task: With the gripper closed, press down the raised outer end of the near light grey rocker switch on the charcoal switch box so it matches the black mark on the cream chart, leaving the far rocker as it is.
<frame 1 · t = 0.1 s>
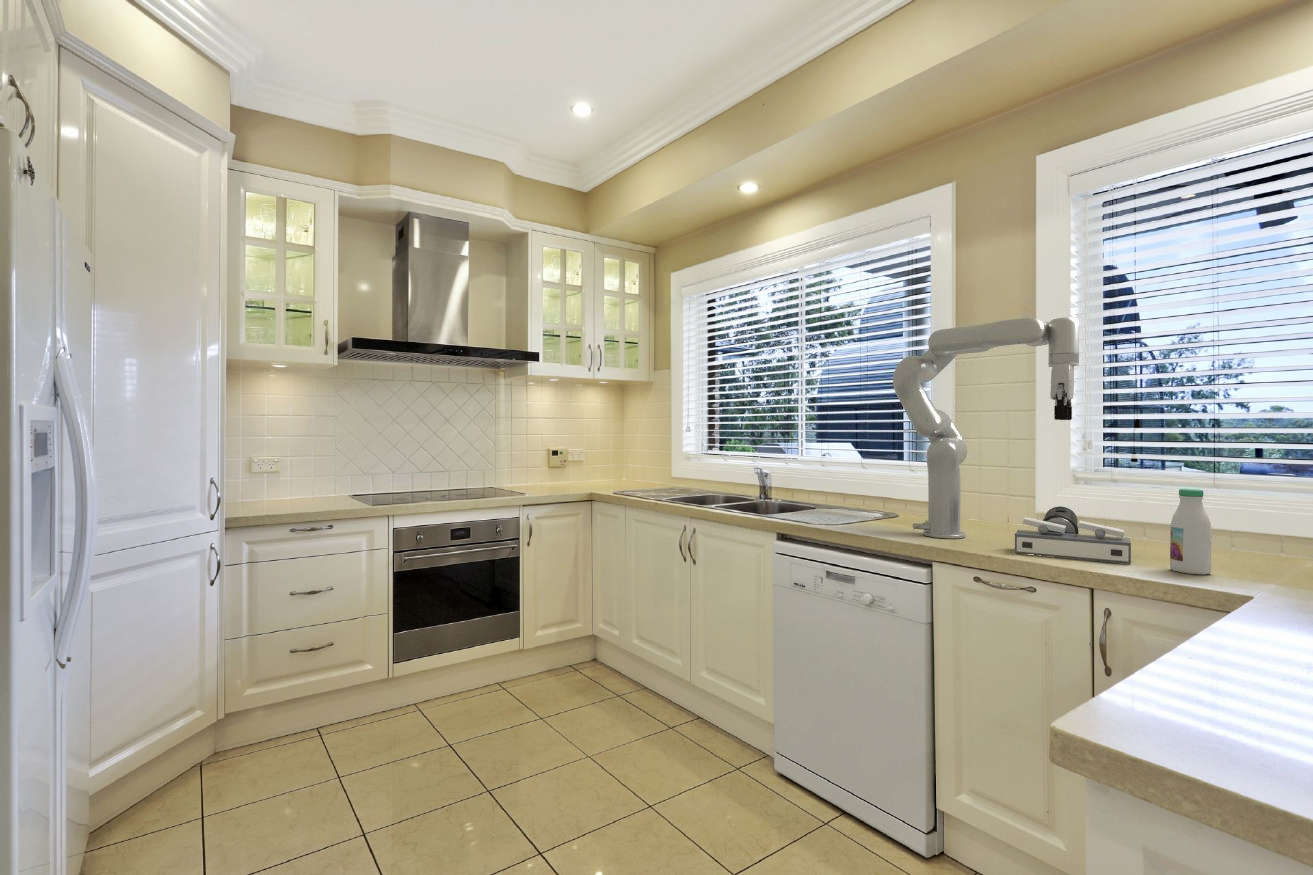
hand: (1063, 419, 189), 37 cm above the counter, tool pointing down, fingers open, 9 cm apart
milk bottle: (1190, 572, 158), on the counter
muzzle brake: (1059, 545, 195), on the counter
switch b: (1100, 531, 174), point 7 cm above the counter, hinge at 10.0°
switch a: (1043, 527, 181), point 7 cm above the counter, hinge at 10.0°
switch box: (1070, 556, 177), on the counter
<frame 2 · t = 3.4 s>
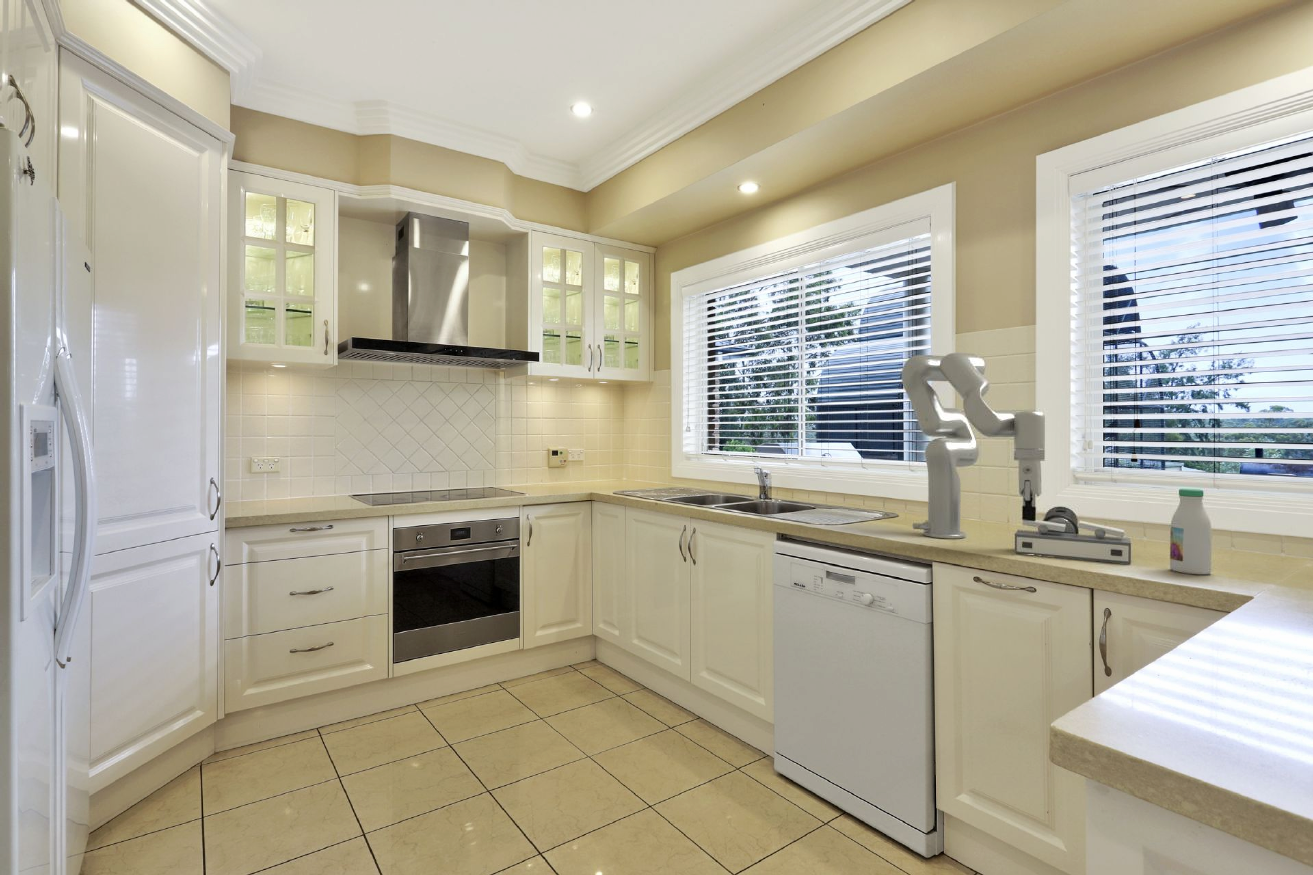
hand: (1028, 520, 183), 9 cm above the counter, tool pointing down, fingers closed
switch a: (1043, 527, 181), point 7 cm above the counter, hinge at 5.8°, touching gripper
everything else where it was.
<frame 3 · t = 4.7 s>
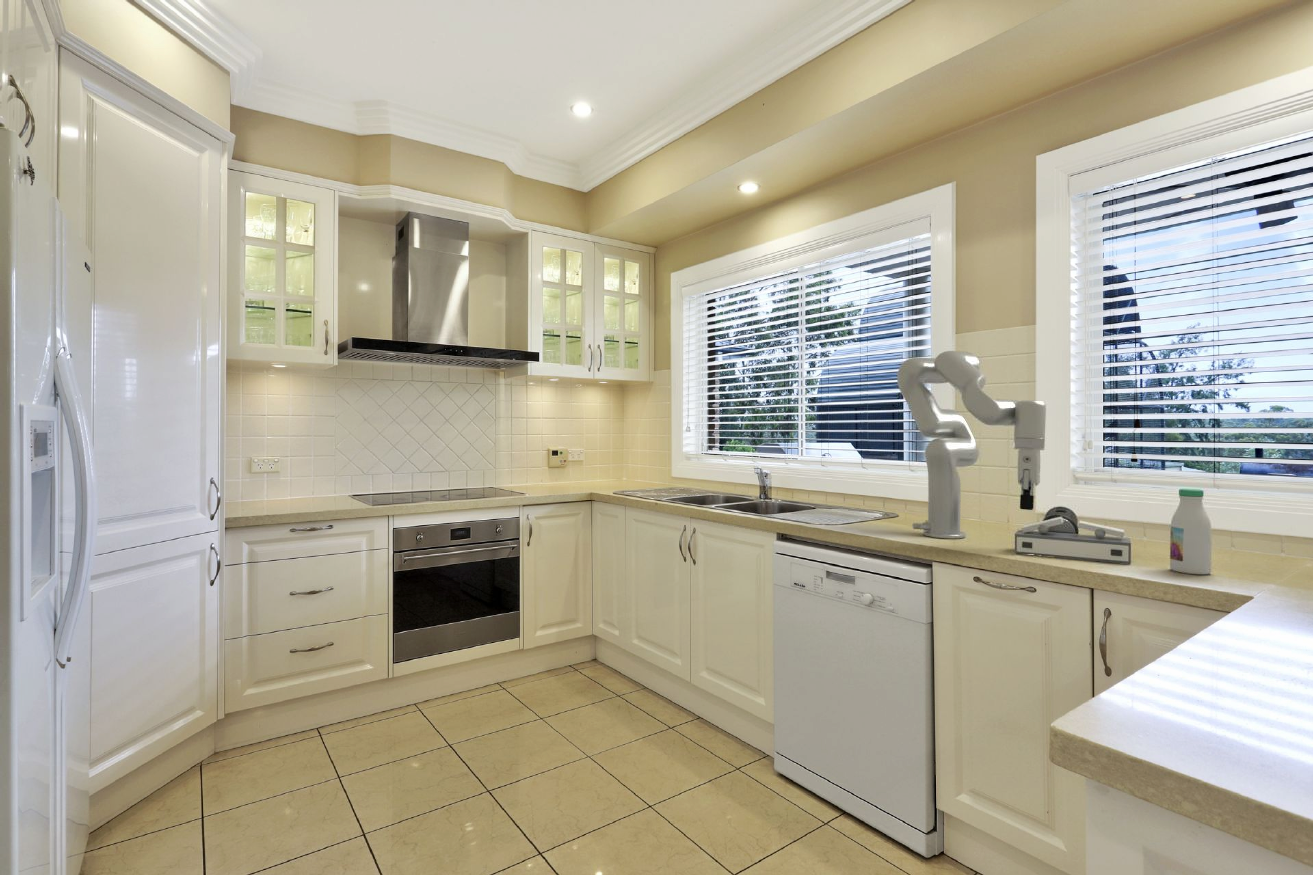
hand: (1026, 509, 184), 12 cm above the counter, tool pointing down, fingers closed
switch a: (1043, 527, 181), point 7 cm above the counter, hinge at -19.9°, touching switch box
everything else where it was.
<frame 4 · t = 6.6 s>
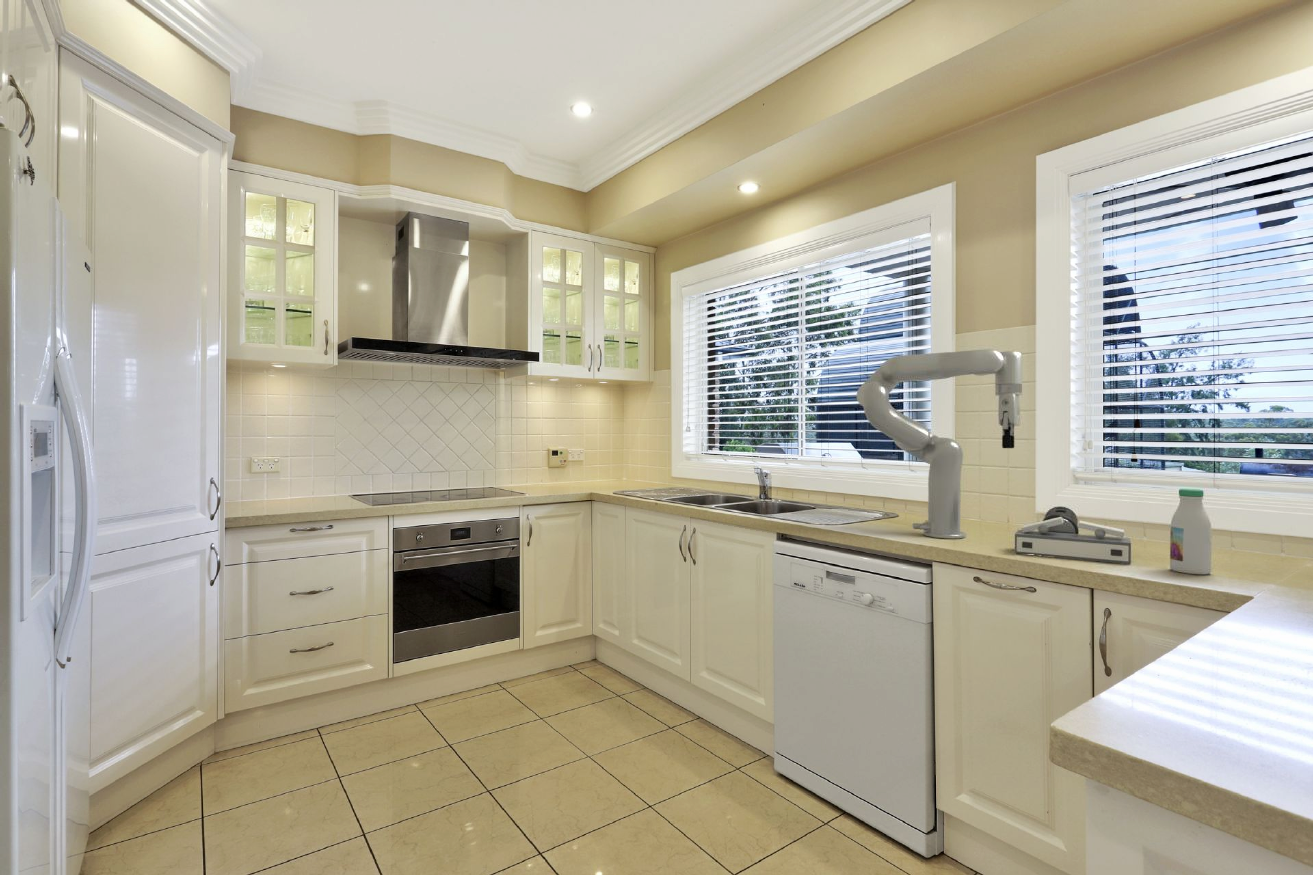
hand: (1008, 448, 208), 28 cm above the counter, tool pointing down, fingers closed
switch a: (1043, 527, 181), point 7 cm above the counter, hinge at -19.5°
everything else where it was.
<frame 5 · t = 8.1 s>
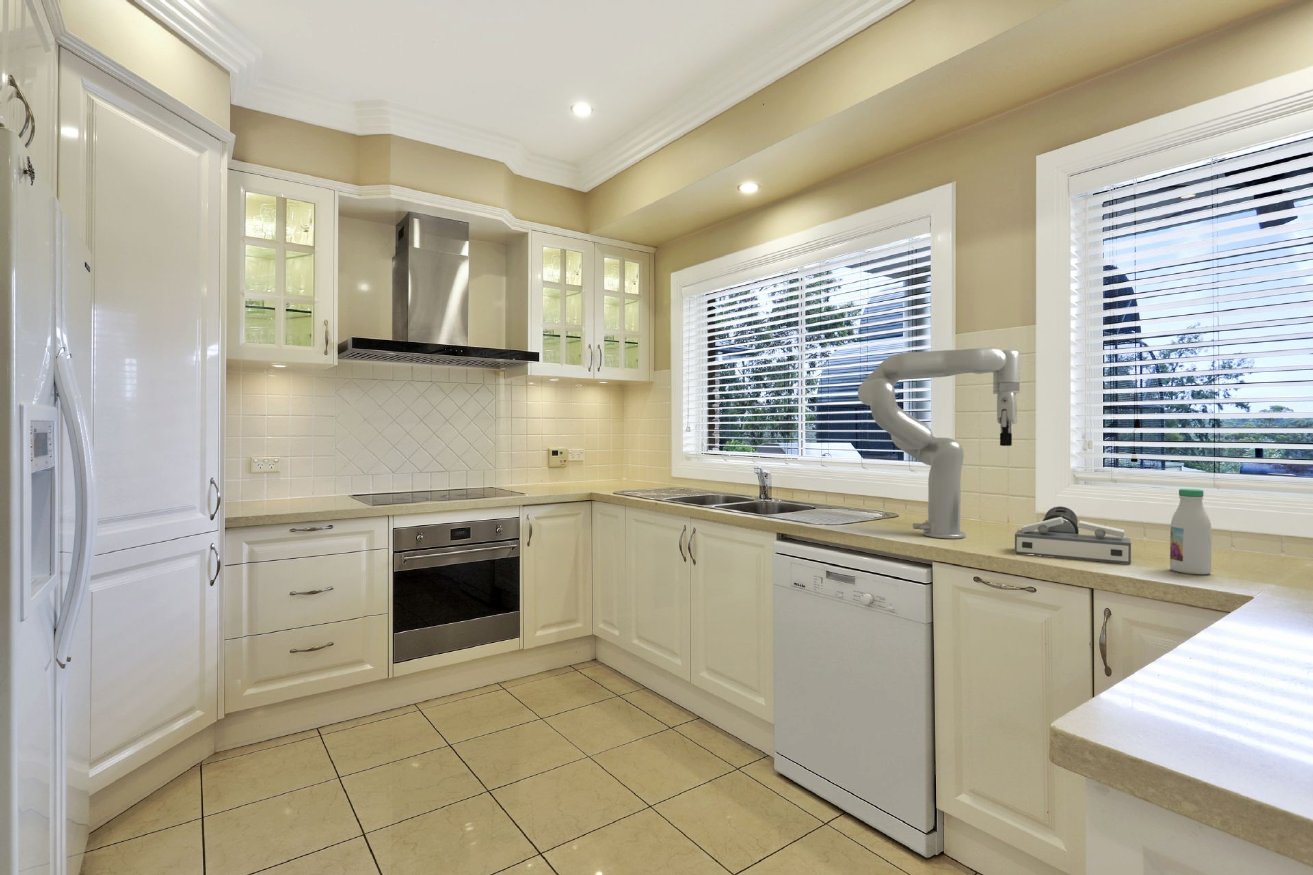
hand: (1005, 445, 211), 29 cm above the counter, tool pointing down, fingers closed
nothing on the counter moved.
at the end: switch a at -20° (first picture: +10°); switch b at +10° (first picture: +10°) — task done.
